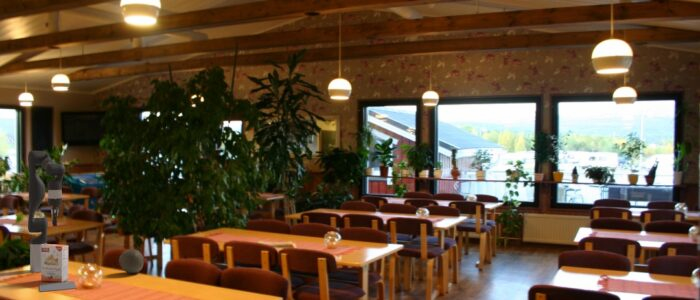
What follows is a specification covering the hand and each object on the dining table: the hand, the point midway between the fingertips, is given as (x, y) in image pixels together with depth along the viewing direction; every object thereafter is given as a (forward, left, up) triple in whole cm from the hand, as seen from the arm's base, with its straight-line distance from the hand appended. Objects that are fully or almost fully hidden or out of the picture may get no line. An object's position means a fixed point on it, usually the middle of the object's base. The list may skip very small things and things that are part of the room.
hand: (54, 225), depth 355 cm
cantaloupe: (+6, +43, -32) cm, 54 cm away
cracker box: (+9, 0, -31) cm, 33 cm away
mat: (+23, +1, -32) cm, 39 cm away
